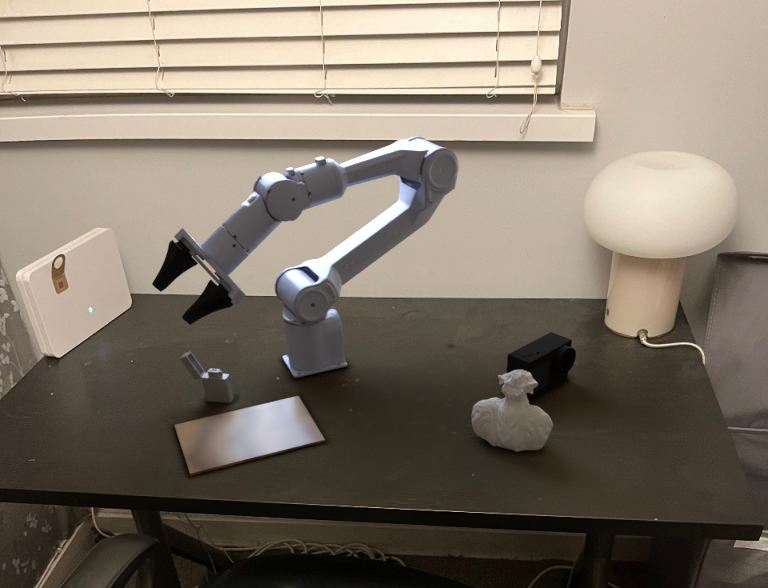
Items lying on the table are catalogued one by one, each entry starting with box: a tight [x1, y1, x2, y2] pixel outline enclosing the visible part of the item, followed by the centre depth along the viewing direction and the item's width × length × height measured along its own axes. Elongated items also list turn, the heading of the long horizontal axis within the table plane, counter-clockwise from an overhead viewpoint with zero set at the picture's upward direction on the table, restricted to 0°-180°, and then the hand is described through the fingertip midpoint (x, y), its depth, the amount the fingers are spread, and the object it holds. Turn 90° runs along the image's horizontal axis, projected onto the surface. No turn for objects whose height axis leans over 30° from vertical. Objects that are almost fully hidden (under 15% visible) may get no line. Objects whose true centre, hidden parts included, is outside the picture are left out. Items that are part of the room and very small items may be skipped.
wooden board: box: [173, 395, 326, 477], centre depth 116 cm, size 20×14×1 cm
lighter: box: [179, 350, 235, 404], centre depth 122 cm, size 7×2×8 cm, turn 77°
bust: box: [470, 369, 554, 453], centre depth 109 cm, size 12×8×11 cm, turn 62°
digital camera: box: [506, 331, 577, 402], centre depth 120 cm, size 10×5×7 cm, turn 131°
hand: (170, 304), depth 115 cm, fingers open, 7 cm apart
